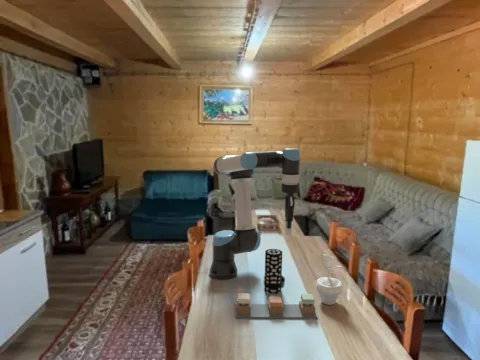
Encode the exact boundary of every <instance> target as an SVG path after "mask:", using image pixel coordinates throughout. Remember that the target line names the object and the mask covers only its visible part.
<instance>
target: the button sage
mask: <svg viewBox="0 0 480 360" xmlns="http://www.w3.org/2000/svg"><path fill="white" fill-rule="evenodd" d="M300 301H302V303H303V304H305V306H310V304H314V305H315V297H314V294H312V293H300Z"/></svg>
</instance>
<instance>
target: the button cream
mask: <svg viewBox="0 0 480 360" xmlns="http://www.w3.org/2000/svg"><path fill="white" fill-rule="evenodd" d="M237 301H238V303H242V306H246V303H250V304H251V298H250V293H237Z"/></svg>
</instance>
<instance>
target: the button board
mask: <svg viewBox="0 0 480 360" xmlns="http://www.w3.org/2000/svg"><path fill="white" fill-rule="evenodd" d="M298 303H299V304H298ZM298 303H297V304H295V303H291V304H289V303H288V304H287V303H286V304H285V303H282V307H270V302H269V300H268V301H267V303H251V302H250V303H246V306H242V303H238V300H236V304H235V319H238V320H239V319H243V320H244V319H245V320H246V319H247V320H250V319H251V320H318V319H319V318H318V315H317V313H316V306H315V303H314V304H310V306H305V304H303V303H302V300H299V302H298Z"/></svg>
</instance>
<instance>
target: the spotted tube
mask: <svg viewBox="0 0 480 360" xmlns="http://www.w3.org/2000/svg"><path fill="white" fill-rule="evenodd" d="M282 271H283V251H282V250H280V249H277V248H269V249H266V250H265V253H264V287H263V288H264V289H263V290H264V292H265V293H267V294H271V295H278V294H280V293H281V292H282Z"/></svg>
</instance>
